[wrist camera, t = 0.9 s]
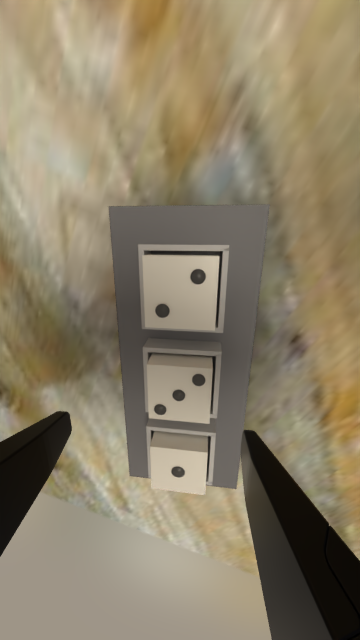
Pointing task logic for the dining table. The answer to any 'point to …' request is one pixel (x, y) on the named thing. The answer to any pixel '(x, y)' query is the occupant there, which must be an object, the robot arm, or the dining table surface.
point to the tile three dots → (179, 387)
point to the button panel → (222, 344)
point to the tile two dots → (180, 291)
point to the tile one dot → (179, 462)
